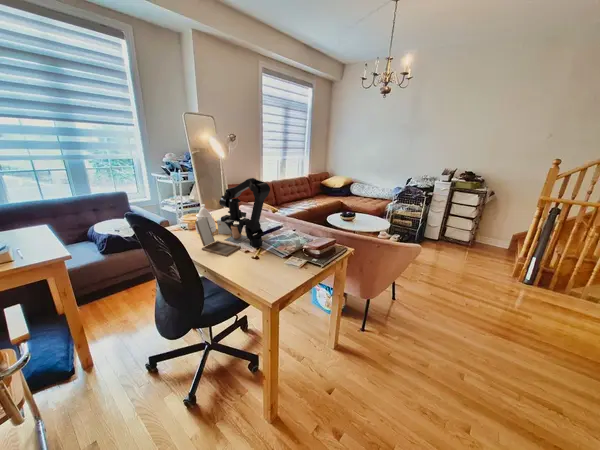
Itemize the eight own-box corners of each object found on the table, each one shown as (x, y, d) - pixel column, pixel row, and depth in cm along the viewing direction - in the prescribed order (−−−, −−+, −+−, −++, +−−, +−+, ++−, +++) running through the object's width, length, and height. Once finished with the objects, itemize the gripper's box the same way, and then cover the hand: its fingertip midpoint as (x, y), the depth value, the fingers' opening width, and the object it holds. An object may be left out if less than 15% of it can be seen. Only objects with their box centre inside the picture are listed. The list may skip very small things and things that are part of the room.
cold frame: (241, 249, 140) (238, 221, 134) (226, 258, 130) (222, 228, 124) (210, 241, 150) (207, 215, 144) (195, 249, 140) (190, 221, 134)
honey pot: (196, 228, 172) (192, 204, 165) (215, 226, 176) (212, 202, 170) (196, 235, 160) (191, 209, 154) (216, 232, 164) (213, 207, 158)
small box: (233, 232, 165) (231, 217, 161) (230, 235, 160) (228, 220, 156) (222, 232, 166) (220, 217, 162) (218, 235, 160) (216, 220, 157)
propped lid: (206, 217, 142) (206, 217, 142) (195, 221, 135) (194, 221, 136) (214, 241, 145) (214, 241, 145) (204, 246, 138) (203, 246, 139)
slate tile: (249, 238, 155) (249, 236, 154) (238, 244, 146) (238, 243, 145) (236, 235, 159) (236, 233, 159) (224, 241, 150) (224, 239, 150)
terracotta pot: (244, 236, 153) (243, 224, 150) (237, 239, 148) (236, 227, 145) (236, 234, 156) (235, 223, 153) (229, 237, 150) (228, 226, 148)
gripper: (255, 207, 148) (256, 231, 154) (231, 203, 156) (234, 226, 162) (243, 212, 139) (245, 237, 144) (218, 208, 147) (221, 232, 152)
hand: (236, 233), depth 151 cm, fingers closed on terracotta pot, 6 cm apart
